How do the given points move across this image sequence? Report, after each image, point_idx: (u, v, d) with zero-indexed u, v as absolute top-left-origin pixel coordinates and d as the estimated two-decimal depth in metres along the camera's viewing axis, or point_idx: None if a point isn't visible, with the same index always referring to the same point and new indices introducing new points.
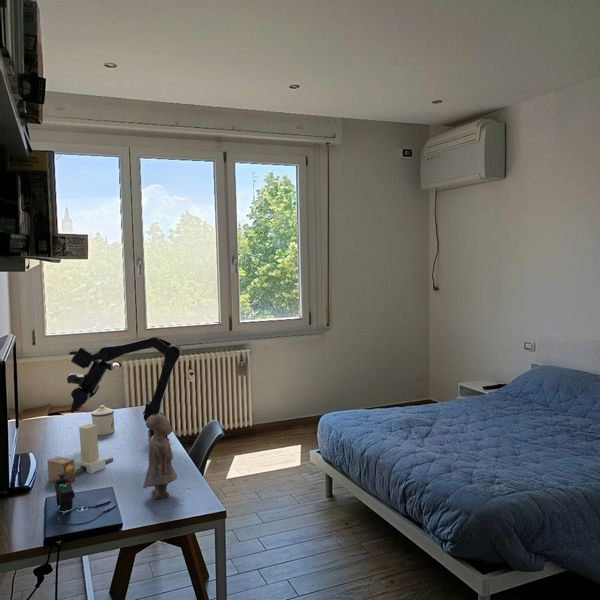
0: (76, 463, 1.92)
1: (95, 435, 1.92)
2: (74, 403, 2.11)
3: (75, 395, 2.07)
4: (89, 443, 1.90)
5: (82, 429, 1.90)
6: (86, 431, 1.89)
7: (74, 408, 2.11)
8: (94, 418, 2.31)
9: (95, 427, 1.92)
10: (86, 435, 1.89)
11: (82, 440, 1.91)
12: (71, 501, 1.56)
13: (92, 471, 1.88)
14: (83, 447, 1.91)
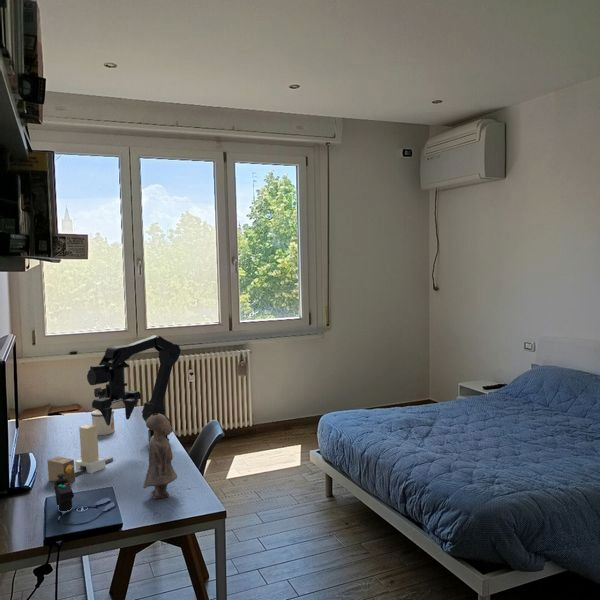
0: (76, 463, 1.92)
1: (95, 435, 1.92)
2: (104, 415, 2.01)
3: (94, 406, 1.98)
4: (89, 443, 1.90)
5: (82, 429, 1.90)
6: (86, 431, 1.89)
7: (107, 420, 2.01)
8: (94, 418, 2.31)
9: (95, 427, 1.92)
10: (86, 435, 1.89)
11: (82, 440, 1.91)
12: (70, 501, 1.56)
13: (92, 471, 1.88)
14: (83, 447, 1.91)
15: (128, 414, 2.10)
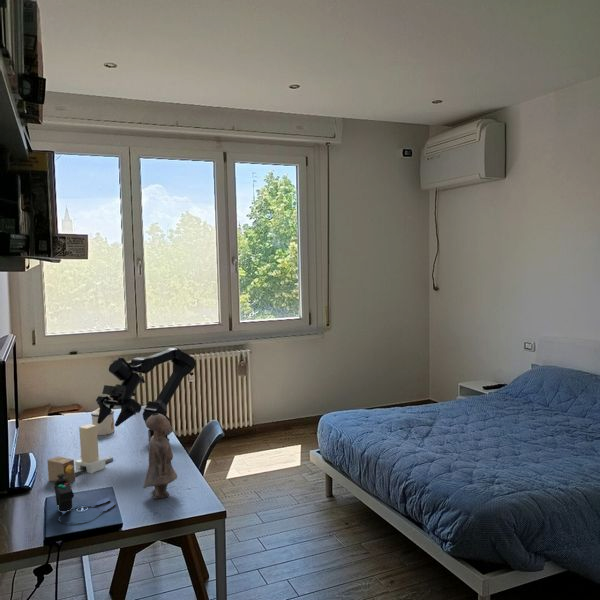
0: (76, 463, 1.92)
1: (95, 435, 1.92)
2: (122, 415, 1.98)
3: (133, 405, 1.98)
4: (89, 443, 1.90)
5: (82, 429, 1.90)
6: (86, 431, 1.89)
7: (120, 421, 1.97)
8: (94, 418, 2.31)
9: (95, 427, 1.92)
10: (86, 435, 1.89)
11: (82, 440, 1.91)
12: (71, 501, 1.56)
13: (92, 471, 1.88)
14: (83, 447, 1.91)
15: (102, 420, 2.03)
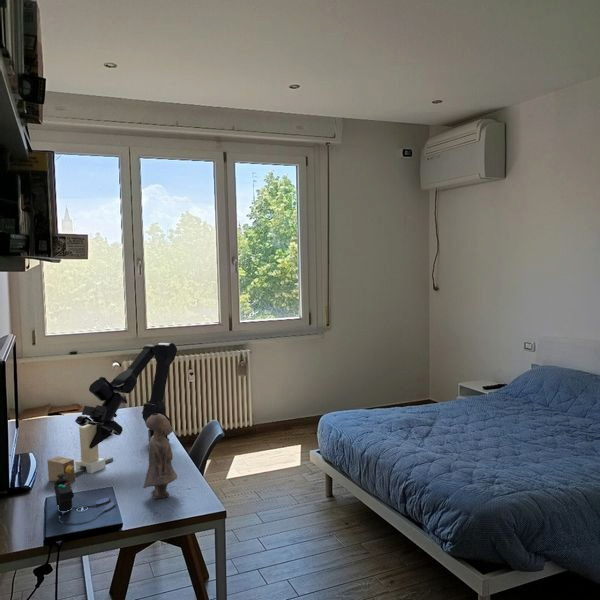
0: (76, 463, 1.92)
1: None
2: (97, 437, 1.91)
3: (114, 427, 1.90)
4: (89, 443, 1.90)
5: (82, 429, 1.90)
6: (86, 431, 1.89)
7: (95, 443, 1.91)
8: None
9: (95, 427, 1.92)
10: (86, 435, 1.89)
11: (82, 440, 1.91)
12: (71, 501, 1.56)
13: (92, 471, 1.88)
14: (83, 447, 1.91)
15: None
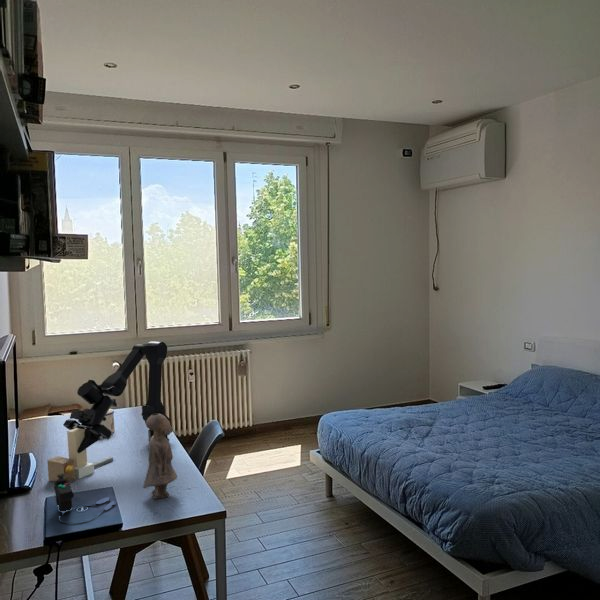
0: None
1: None
2: (86, 441, 1.87)
3: (103, 432, 1.86)
4: (77, 447, 1.86)
5: (70, 433, 1.86)
6: (74, 435, 1.85)
7: (83, 447, 1.87)
8: None
9: (83, 431, 1.88)
10: (74, 439, 1.85)
11: (70, 444, 1.86)
12: (70, 501, 1.56)
13: (80, 476, 1.84)
14: (71, 451, 1.86)
15: None
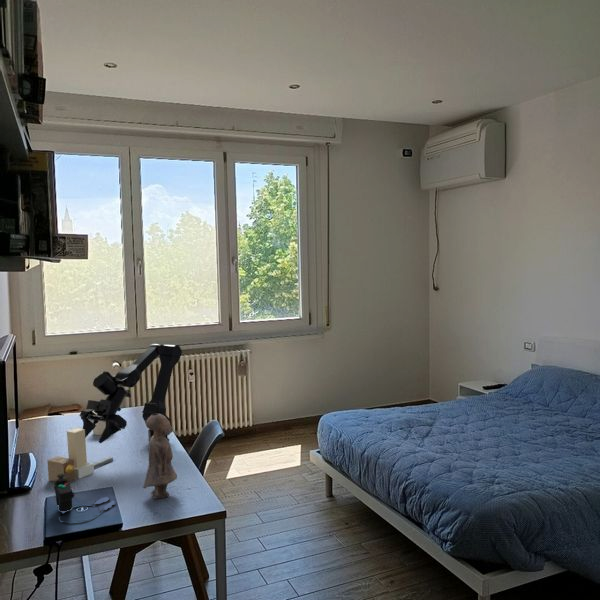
0: None
1: (83, 439, 1.88)
2: (107, 432, 1.91)
3: (118, 421, 1.91)
4: (77, 447, 1.86)
5: (70, 433, 1.86)
6: (74, 435, 1.85)
7: (104, 437, 1.91)
8: None
9: (83, 431, 1.88)
10: (73, 439, 1.85)
11: (70, 444, 1.86)
12: (70, 501, 1.56)
13: (80, 476, 1.84)
14: (71, 452, 1.86)
15: (86, 435, 1.96)
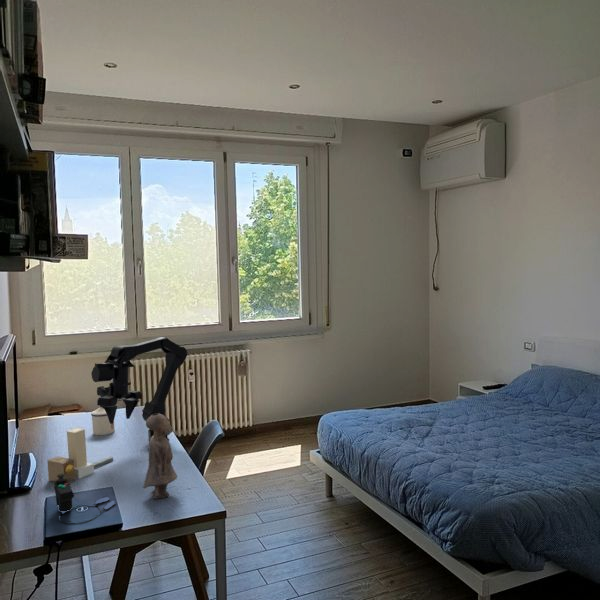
0: None
1: (83, 439, 1.88)
2: (108, 413, 2.03)
3: (100, 403, 2.00)
4: (77, 447, 1.86)
5: (70, 433, 1.86)
6: (74, 435, 1.85)
7: (110, 418, 2.03)
8: (94, 418, 2.31)
9: (83, 431, 1.88)
10: (73, 439, 1.85)
11: (70, 444, 1.86)
12: (70, 501, 1.56)
13: (80, 476, 1.84)
14: (71, 452, 1.86)
15: (129, 414, 2.12)
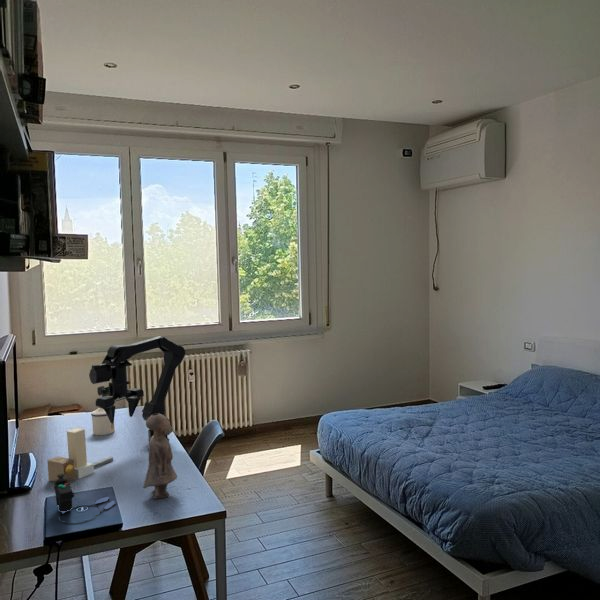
0: None
1: (83, 439, 1.88)
2: (107, 413, 2.04)
3: (98, 404, 2.01)
4: (77, 447, 1.86)
5: (70, 433, 1.86)
6: (74, 435, 1.85)
7: (110, 418, 2.04)
8: (94, 418, 2.31)
9: (83, 431, 1.88)
10: (73, 439, 1.85)
11: (70, 444, 1.86)
12: (71, 501, 1.56)
13: (80, 476, 1.84)
14: (71, 452, 1.86)
15: (132, 412, 2.13)
